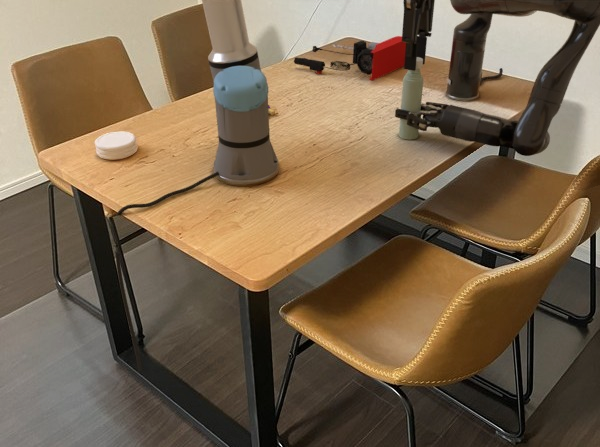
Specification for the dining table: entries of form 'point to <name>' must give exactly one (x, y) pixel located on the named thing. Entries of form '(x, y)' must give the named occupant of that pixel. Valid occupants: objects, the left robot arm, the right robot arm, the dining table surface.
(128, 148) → the white thick disc
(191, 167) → the dining table surface
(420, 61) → the cap
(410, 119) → the right robot arm
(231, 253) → the dining table surface
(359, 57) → the electric hoist
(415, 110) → the bottle
